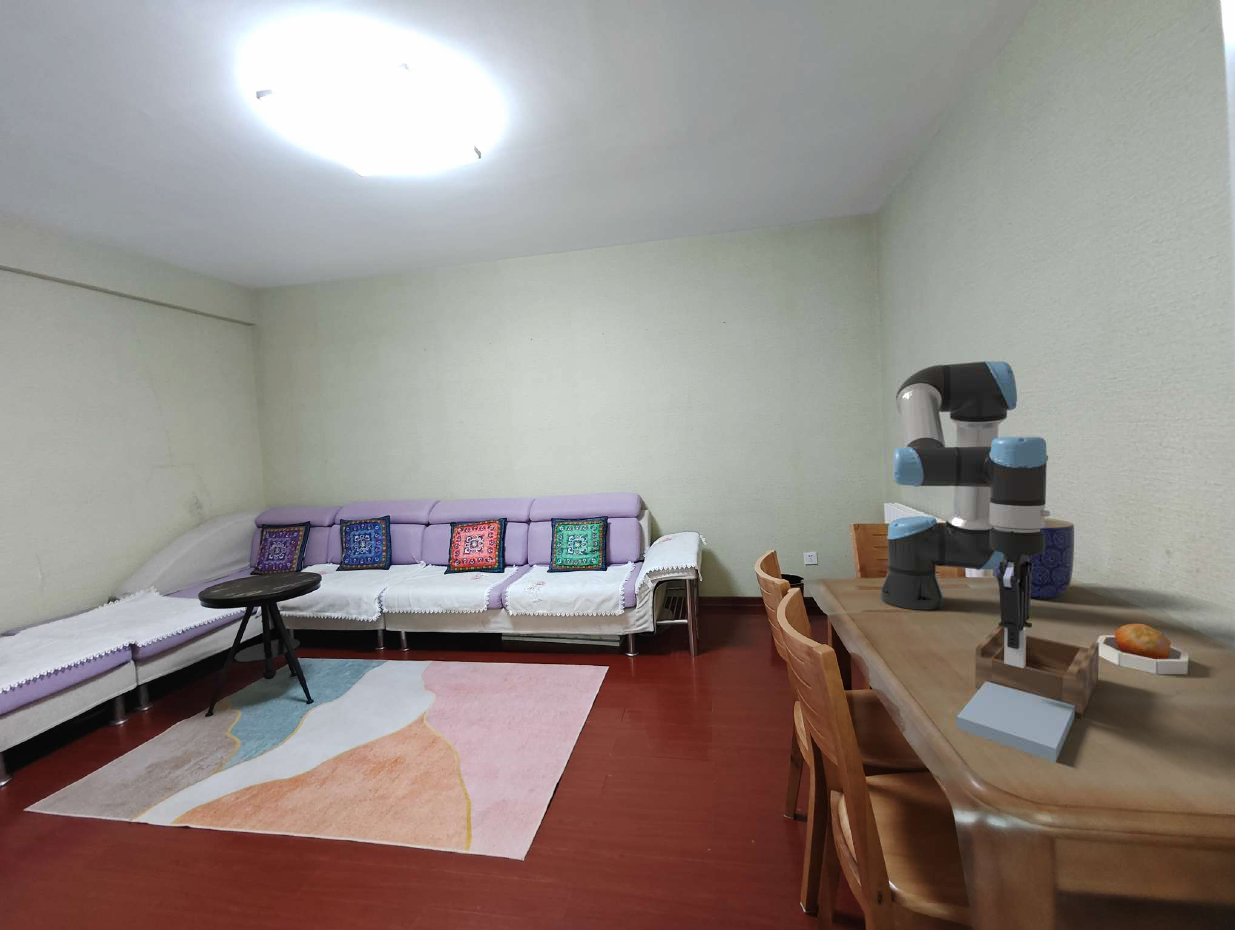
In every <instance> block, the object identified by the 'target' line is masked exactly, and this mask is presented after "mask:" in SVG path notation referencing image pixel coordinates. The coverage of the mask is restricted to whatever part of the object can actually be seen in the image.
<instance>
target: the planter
mask: <svg viewBox="0 0 1235 930" xmlns="http://www.w3.org/2000/svg"><path fill="white" fill-rule="evenodd" d="M1040 530H1042V531H1043V532H1044V533H1045V552H1044V553H1043V554H1040V555H1029V562H1031V563H1033V566H1034V569H1033V572H1032V581H1031V596H1030V599H1040V600H1041V599H1045V600H1046V599H1047V600H1048V599H1049V600H1050V599H1053V598H1058V597H1059V596H1061V595H1063V594H1064V593H1065V592H1066V591H1067V589H1068V588H1069V586H1070V585H1071V582H1072V579H1073V578H1072V577H1073V571H1074V558H1075V556H1074V555H1075V525H1074V523H1072V522H1070V521H1067V520H1062V519H1056V518H1050V517H1049V518H1048V517H1045V527H1044V528H1042V529H1040ZM999 568H1000V566H999V567H998V568H996V569H993V570H992V572H993V576H994V578H995V580H996V582H997V583H998V579H997V576H998V575H999V574H1001V572H1000V570H999ZM998 585H999V583H998Z"/></svg>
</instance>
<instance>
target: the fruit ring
mask: <svg viewBox="0 0 1235 930" xmlns="http://www.w3.org/2000/svg"><path fill="white" fill-rule="evenodd" d="M1096 642H1098V643H1099V657H1100V658H1103V659H1105V660H1107V661H1108V662H1110V663H1112V664H1114V665H1117V666H1120V667H1124V668H1128V669H1133V670H1136V671H1141V672H1146V673H1150V674H1155V675H1156V674H1157V675H1188V670H1189V656H1190V655H1189V652H1187V651H1185V650H1183V649H1180V648H1177V647H1175V646H1172V645H1170V654H1169V658H1168V659H1152V658H1147V657H1142V656H1137V655H1132V654H1128V653H1123V652H1121V651H1120V650H1119V649H1118V647H1117V643H1116V639H1115V634H1114V635H1113V634H1112V635H1111V634H1109V635H1108V634H1107V635H1099V637H1098V638H1097V640H1096Z"/></svg>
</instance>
